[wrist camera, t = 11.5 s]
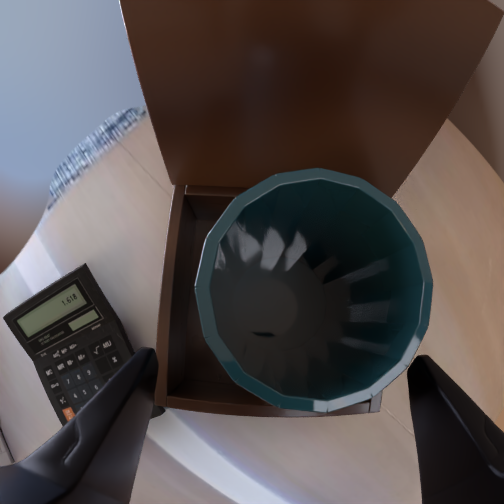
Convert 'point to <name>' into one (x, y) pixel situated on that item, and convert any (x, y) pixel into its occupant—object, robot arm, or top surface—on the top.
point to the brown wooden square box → (189, 325)
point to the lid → (302, 83)
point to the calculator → (72, 340)
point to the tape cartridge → (4, 453)
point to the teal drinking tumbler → (314, 290)
